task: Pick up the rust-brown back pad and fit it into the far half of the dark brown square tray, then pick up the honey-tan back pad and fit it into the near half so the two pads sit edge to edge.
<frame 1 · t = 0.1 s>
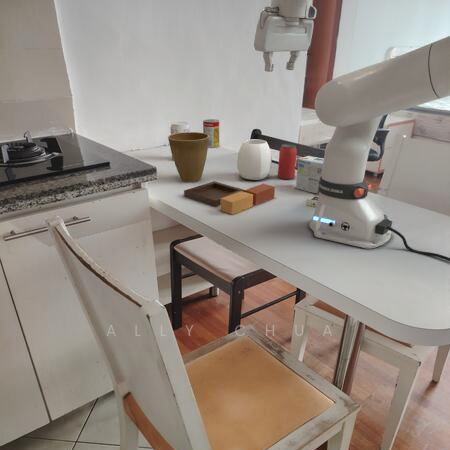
hand: (279, 70, 111), 39 cm above the table, tool pointing down, fingers open, 8 cm apart
honey pad: (236, 208, 131), on the table
supplement can: (181, 159, 185), on the table
brown pad: (259, 200, 139), on the table
dark brown square tray: (214, 196, 142), on the table
cup: (253, 178, 161), on the table
canned food: (211, 146, 207), on the table
light bulb box: (312, 190, 148), on the table
plant pot: (190, 180, 158), on the table
beer can: (285, 178, 161), on the table
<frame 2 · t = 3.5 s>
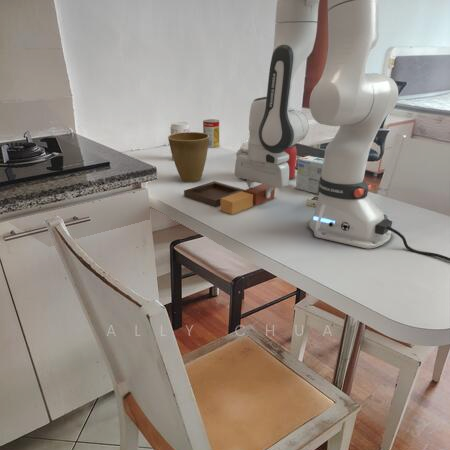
hand: (259, 195, 138), 2 cm above the table, tool pointing down, fingers closed on brown pad, 5 cm apart
brown pad: (259, 200, 139), on the table, touching gripper
everything else where it was.
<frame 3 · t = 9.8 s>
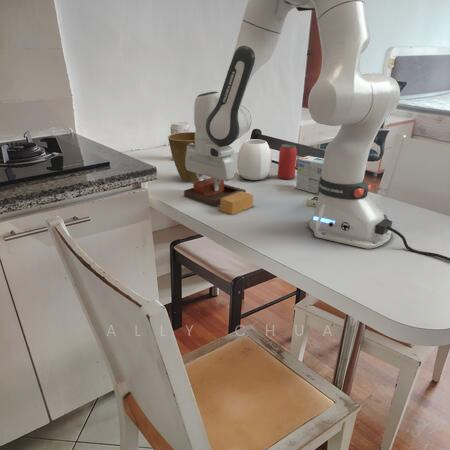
hand: (208, 188, 142), 2 cm above the table, tool pointing down, fingers closed on brown pad, 5 cm apart
brown pad: (208, 192, 143), point 1 cm above the table, touching dark brown square tray, gripper
everything else where it was.
when the fingers open (5 cm above the table, at t = 26.8 s): brown pad drops 2 cm, resting on dark brown square tray.
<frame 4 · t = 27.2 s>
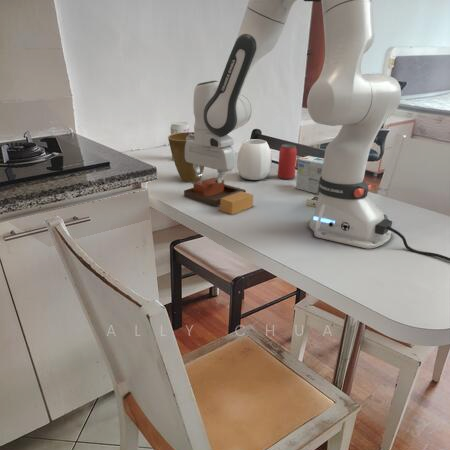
hand: (208, 179, 141), 5 cm above the table, tool pointing down, fingers open, 8 cm apart
brown pad: (209, 193, 143), resting on dark brown square tray
everything else where it was.
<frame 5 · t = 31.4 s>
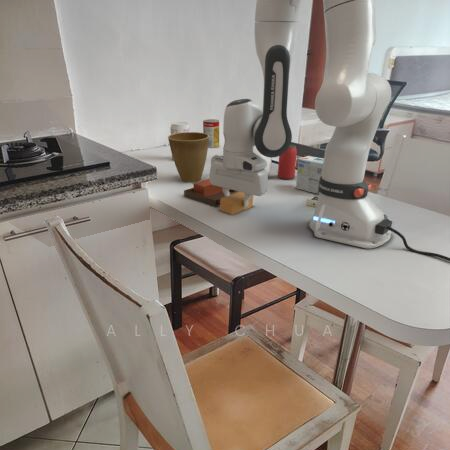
hand: (237, 203, 131), 2 cm above the table, tool pointing down, fingers closed on honey pad, 5 cm apart
honey pad: (236, 208, 131), on the table, touching gripper
everything else where it was.
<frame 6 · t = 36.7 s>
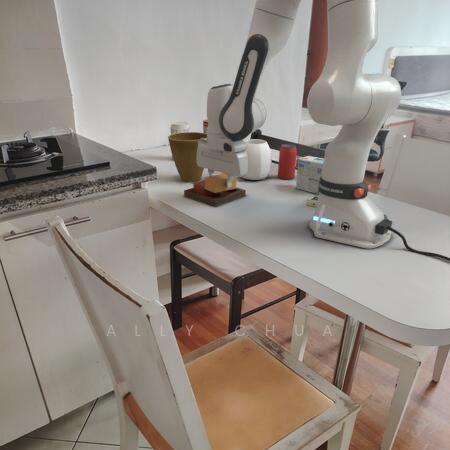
hand: (221, 184, 138), 5 cm above the table, tool pointing down, fingers closed on honey pad, 5 cm apart
honey pad: (220, 188, 138), point 3 cm above the table, tilted 5°, touching gripper
brown pad: (208, 193, 143), resting on dark brown square tray, touching gripper
everything else where it was.
when the fingers open (5 cm above the table, at t = 39.7 s): honey pad drops 3 cm, resting on dark brown square tray.
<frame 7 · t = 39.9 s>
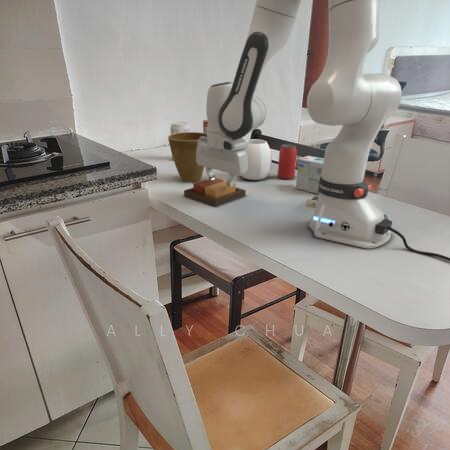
hand: (220, 183, 137), 5 cm above the table, tool pointing down, fingers open, 7 cm apart
honey pad: (220, 197, 139), resting on dark brown square tray
brown pad: (208, 193, 143), resting on dark brown square tray
everything else where it was.
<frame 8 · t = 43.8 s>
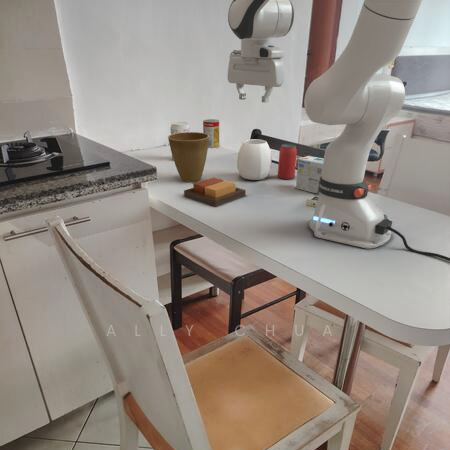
hand: (253, 100, 132), 29 cm above the table, tool pointing down, fingers open, 8 cm apart
nothing on the table moved.
at the end: brown pad inside the target area in the dark brown square tray (2.7 cm from its centre), point 0.5 cm above the dark brown square tray's base; honey pad inside the target area in the dark brown square tray (3.0 cm from its centre), point 0.5 cm above the dark brown square tray's base; honey pad 5.8 cm from the brown pad (horizontally) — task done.
